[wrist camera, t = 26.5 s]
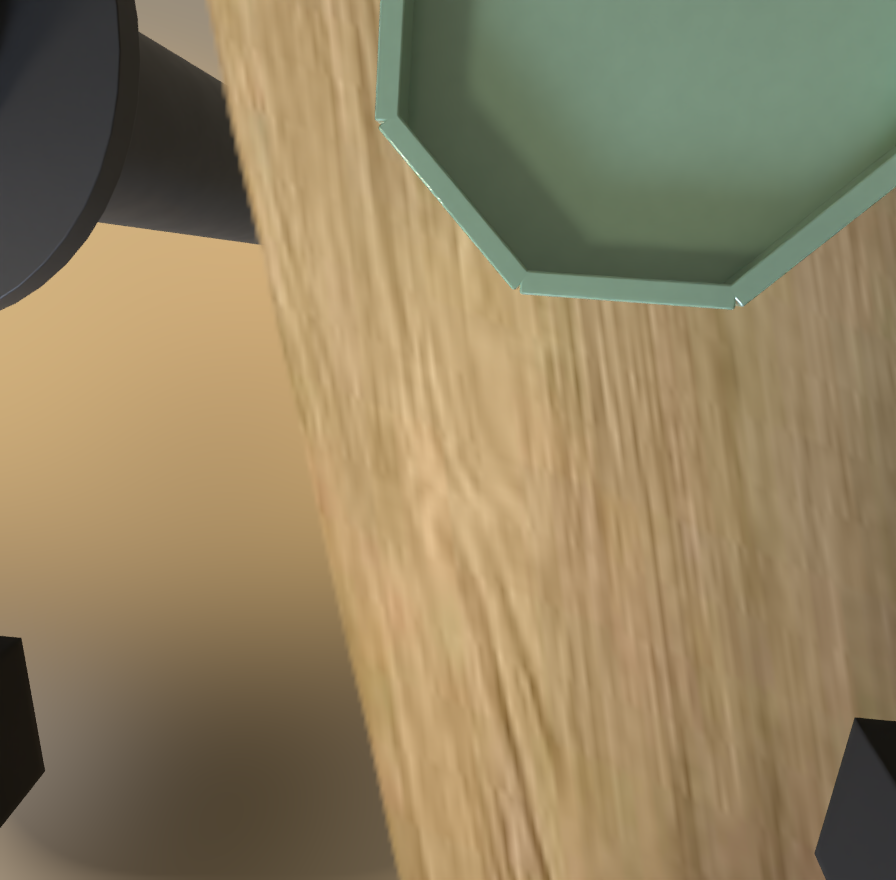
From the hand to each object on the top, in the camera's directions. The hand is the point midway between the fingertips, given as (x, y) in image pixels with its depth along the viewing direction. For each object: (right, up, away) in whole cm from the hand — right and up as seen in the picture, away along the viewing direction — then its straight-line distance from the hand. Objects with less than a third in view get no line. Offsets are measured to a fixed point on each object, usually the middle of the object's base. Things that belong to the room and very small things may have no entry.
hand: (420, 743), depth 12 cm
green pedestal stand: (+7, +17, +17) cm, 25 cm away
